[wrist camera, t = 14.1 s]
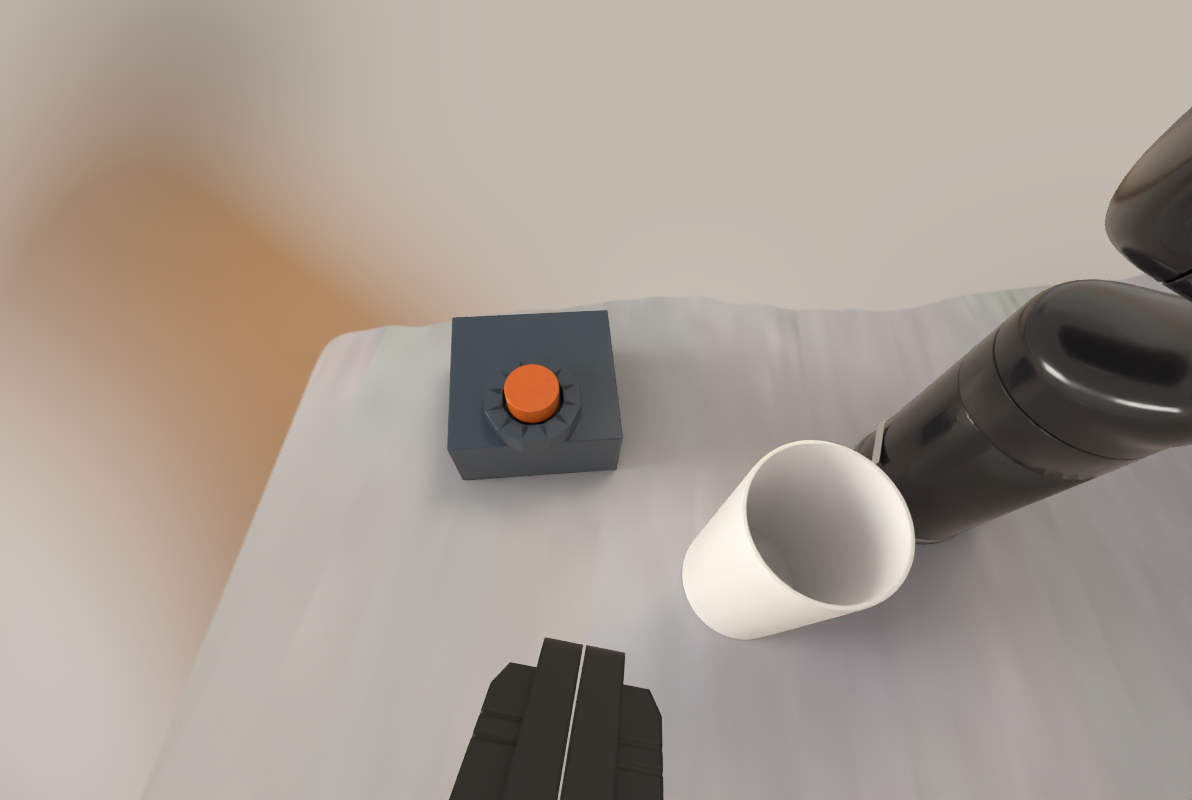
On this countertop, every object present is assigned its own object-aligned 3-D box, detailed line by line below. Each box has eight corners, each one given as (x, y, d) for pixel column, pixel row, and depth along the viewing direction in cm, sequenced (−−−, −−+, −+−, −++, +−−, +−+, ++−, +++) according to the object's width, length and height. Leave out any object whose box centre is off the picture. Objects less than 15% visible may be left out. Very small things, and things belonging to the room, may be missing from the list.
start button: (557, 375, 39) (557, 362, 37) (561, 421, 37) (560, 410, 36) (506, 378, 39) (503, 365, 37) (507, 425, 37) (504, 413, 35)
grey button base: (603, 352, 49) (608, 295, 42) (617, 476, 44) (625, 435, 37) (465, 359, 48) (447, 302, 41) (462, 487, 43) (441, 447, 36)
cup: (778, 660, 38) (900, 644, 24) (665, 608, 39) (718, 563, 25) (806, 550, 41) (928, 478, 27) (703, 505, 43) (767, 415, 29)
